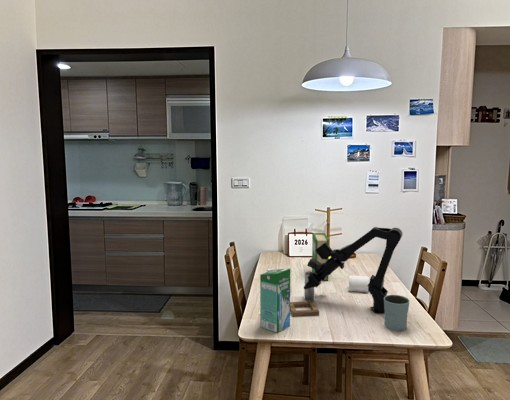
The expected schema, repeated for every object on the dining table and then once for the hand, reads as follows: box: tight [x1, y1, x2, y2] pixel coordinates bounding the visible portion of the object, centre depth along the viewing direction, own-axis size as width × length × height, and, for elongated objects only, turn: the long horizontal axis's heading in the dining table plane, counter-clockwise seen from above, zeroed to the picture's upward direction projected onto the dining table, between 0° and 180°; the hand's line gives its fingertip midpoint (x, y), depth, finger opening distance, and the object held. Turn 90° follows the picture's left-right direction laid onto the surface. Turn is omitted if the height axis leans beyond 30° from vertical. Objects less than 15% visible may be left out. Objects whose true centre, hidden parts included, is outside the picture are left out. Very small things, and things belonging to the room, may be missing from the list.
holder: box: [290, 300, 320, 318], centre depth 184 cm, size 12×12×2 cm
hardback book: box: [311, 232, 330, 282], centre depth 233 cm, size 18×7×24 cm, turn 177°
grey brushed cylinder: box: [304, 270, 315, 302], centre depth 198 cm, size 5×5×14 cm
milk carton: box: [259, 267, 291, 334], centre depth 166 cm, size 9×9×25 cm
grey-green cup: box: [384, 294, 410, 332], centre depth 167 cm, size 10×10×12 cm
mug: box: [348, 275, 370, 293], centre depth 211 cm, size 12×10×8 cm
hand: (306, 285), depth 198 cm, fingers open, 8 cm apart
